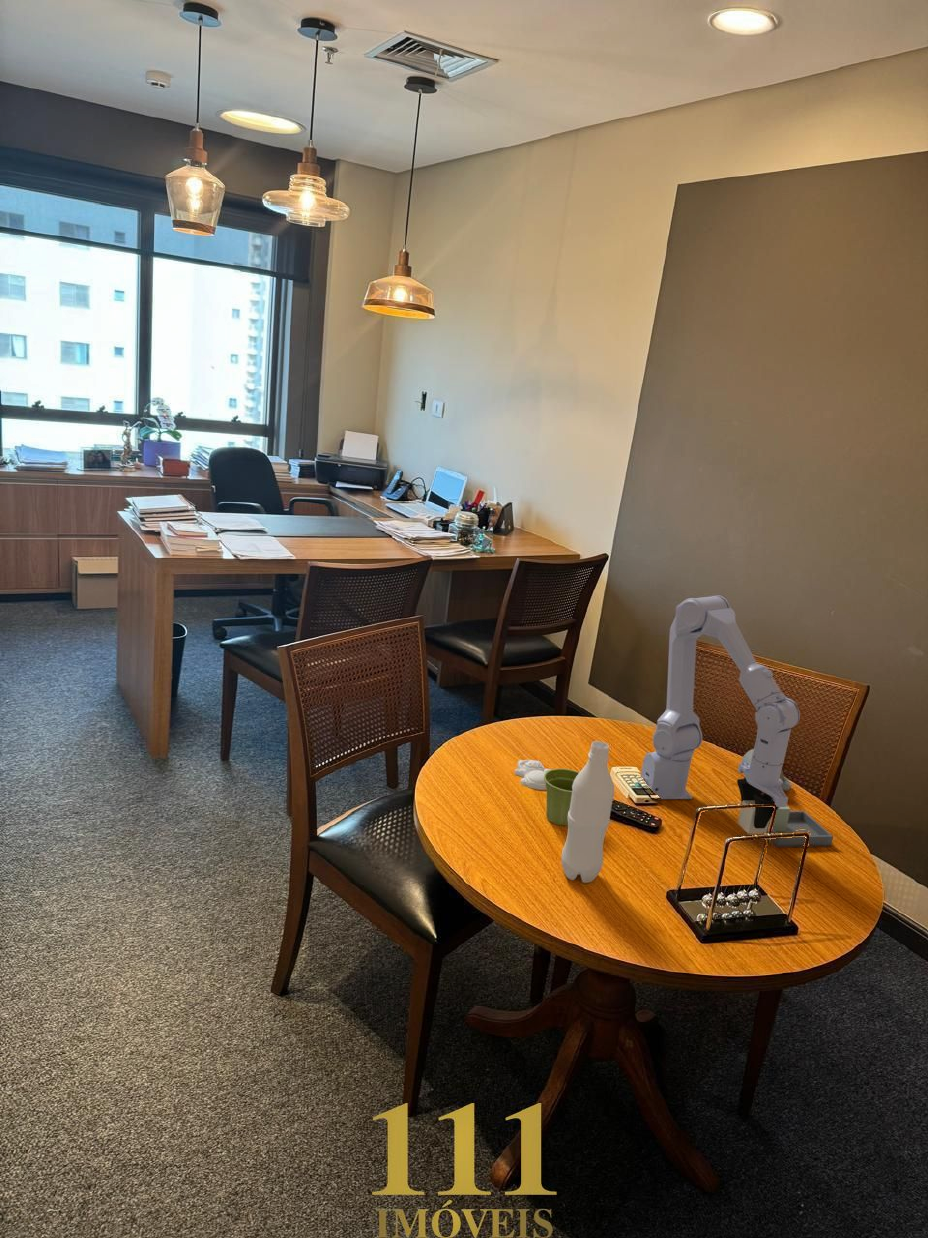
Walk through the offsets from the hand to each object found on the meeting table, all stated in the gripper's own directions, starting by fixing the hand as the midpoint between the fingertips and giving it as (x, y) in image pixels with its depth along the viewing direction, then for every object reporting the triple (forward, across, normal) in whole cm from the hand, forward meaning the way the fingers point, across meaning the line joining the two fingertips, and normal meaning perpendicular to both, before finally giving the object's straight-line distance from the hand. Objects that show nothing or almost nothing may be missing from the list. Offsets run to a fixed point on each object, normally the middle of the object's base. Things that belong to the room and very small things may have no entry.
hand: (753, 821), depth 164 cm
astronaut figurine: (+4, +26, +37) cm, 46 cm away
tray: (+3, +1, -10) cm, 10 cm away
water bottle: (+4, -11, +40) cm, 42 cm away
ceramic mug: (+4, +21, -16) cm, 27 cm away
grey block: (+2, 0, 0) cm, 2 cm away
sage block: (+3, +3, -7) cm, 8 cm away
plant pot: (+4, +8, +37) cm, 38 cm away
